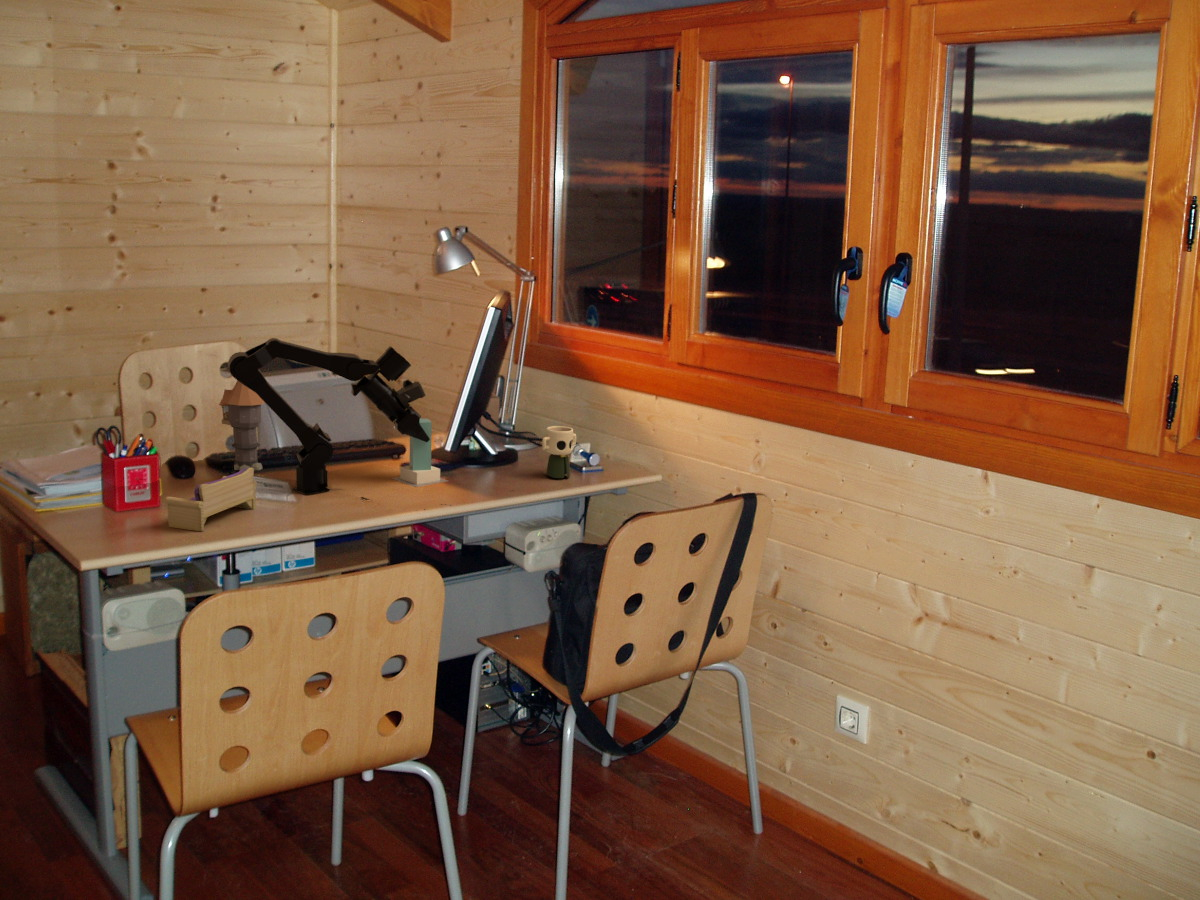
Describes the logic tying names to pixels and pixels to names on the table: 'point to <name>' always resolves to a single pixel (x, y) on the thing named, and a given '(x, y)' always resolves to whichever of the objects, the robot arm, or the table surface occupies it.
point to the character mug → (558, 450)
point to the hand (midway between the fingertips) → (426, 438)
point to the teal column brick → (421, 449)
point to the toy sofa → (212, 500)
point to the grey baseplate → (419, 484)
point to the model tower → (243, 424)
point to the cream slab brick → (419, 475)
